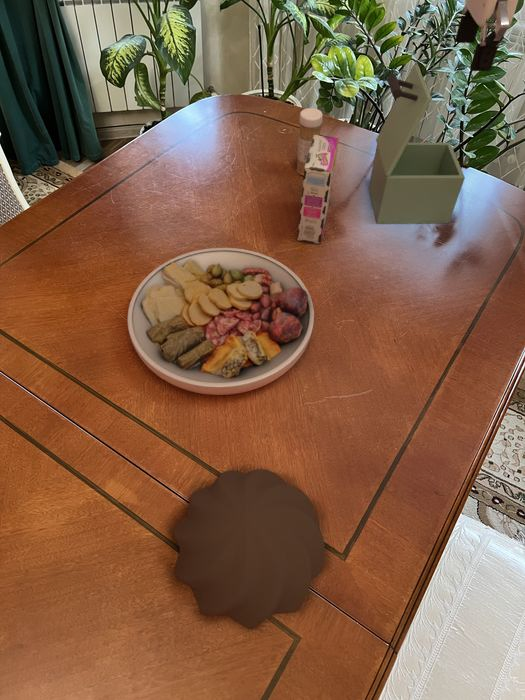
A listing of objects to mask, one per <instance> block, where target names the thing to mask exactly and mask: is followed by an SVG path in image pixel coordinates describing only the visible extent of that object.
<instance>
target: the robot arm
mask: <svg viewBox="0 0 525 700" xmlns="http://www.w3.org/2000/svg"><path fill="white" fill-rule="evenodd" d="M518 3H519V0H465V5H464V6H463V7H462V11H461V17H460V20H459V24H458V28H457V31H456V35H455V38H454V39H455V40H454V41H455V42H456V43H457V44H473V43H475V41H476V38H477V34H478V31H479V27H480V41H479V43H477V44H476V45H475V46H476V47H475V50H474V53H473V57H472V59H471V63H470V66H469V68H470V69H469V70H470V71H472V72H490V70H491V69H492V67H493V64H494V61H495V58H496V56H497V55H496V54H497V52H498V48H499V47H500V46H501V43H502V41H503V40H504V38H505V34H506V33H507V31H508V29H509V27H510V26H511V24H512V23H513V19H514V16H515V14H516V13H515V12H516V9H517V6H518ZM494 21H495V22H494ZM488 30H494V31H491V32H490V33H489V34H488Z"/></svg>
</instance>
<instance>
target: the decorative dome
mask: <svg viewBox="0 0 525 700" xmlns="http://www.w3.org/2000/svg"><path fill="white" fill-rule="evenodd" d="M319 523H320V518H319V516H318V513H317V511H316V508H315V506H314V504H313V503H312V500H311V499H310V498H309V496H308V495H307V494H306V493H305V492H304V491H303V490H301V488H299V487H297V486H295V485H293V484H291V483H288V482H287V481H286V480H285V479H284V478H283V477H282V476H280V475H278V474H277V473H275V472H274V471H272V470H269V469H265V468H258V469H253V470H251V471H249V472H244V471H240V470H234V469H231V470H229V469H228V470H225V471H223V472H221V473H220V474H219V475H217V477H216V479H215V480H214V481H213V483H212V484H211V485H210V486H206V487H200V488H198V489H196V490H194V491H193V492H192V493H191V494H190V496H189V500H188V511H187V514H186V515H185V516H184V517H183V518H181V520H179V521H178V522H177V523H176V524H175V525H174V527H173V529H172V536H173V537H174V540H175V542H176V544H177V545H178V547H179V552H178V555H177V559H176V562H175V565H174V569H173V572H174V575H175V576H176V578H177V579H178V580H179V581H181V582H183V583H184V584H186V586H188V587H189V588H190V589H191V590H192V593H193V595H194V598H195V602H196V605H197V607H198V610H199V612H200V614H202V615H204V616H223V617H229V618H230V619H232V620H234V622H237V623H238V624H240V625H241V626H243V627H244V628H246V629H247V630H253V629H255V628H257V627H258V626H259V625H261V624H262V623H264V622H265V621H266V620H267V619H268V618H270V617H271V616H274V615H278V614H279V615H281V614H289V613H297V612H299V610H300V609H301V607H302V606H303V604H304V603H305V601H306V598H307V596H308V593H309V591H310V588H311V583H312V582H313V580H314V579H315V578H316V577H318V575H320V574H321V573H322V571H323V570H324V567H325V558H326V548H325V541H324V536H323V534H322V531H321V529H320V524H319Z"/></svg>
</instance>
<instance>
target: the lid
mask: <svg viewBox="0 0 525 700" xmlns="http://www.w3.org/2000/svg"><path fill="white" fill-rule="evenodd" d="M387 83H388V87H389V88H390V93H391V95H392V98H394V99H395V101H394V103H393V105H392V107H391V109H390V111H389V113H388V115H387V117H386V119H385V121H384V123H383V125H382V127H381V129H380V131H379V133H378V135H377V137H376V139H375V142H376V146H377V145H378V149H379V153H380V156H381V160H382V163H383V167H384V171H385V174H386V175H387V176H390V174H391V173H392V171H393V169H394V167H395V165H396V163H397V162H398V160H399V158H400V156H401V154H402V153H403V151H404V149H405V147H406V145H407V144H408V143H410V142H409V141H410V140H411V138H412V136H413V134H414V133H415V131H416V129H417V127H418V125H419V123H420V122H421V120H422V118H423V116H424V115H425V113H426V111H427V109H428V107H429V105H430V104H431V102H432V100H433V98H432V95H431V93H430V90H429V88H428V86H427V83H426V81H425V79H424V76H423V74H422V72H421V69H420V67H419V65H418V64H416V63H413V66H412V67H411V69H410V71H409V73H408V75H407V77H406V79H405V80H401V79H398V76H397V75H396V74H390V75H389V76H388V78H387Z"/></svg>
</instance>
